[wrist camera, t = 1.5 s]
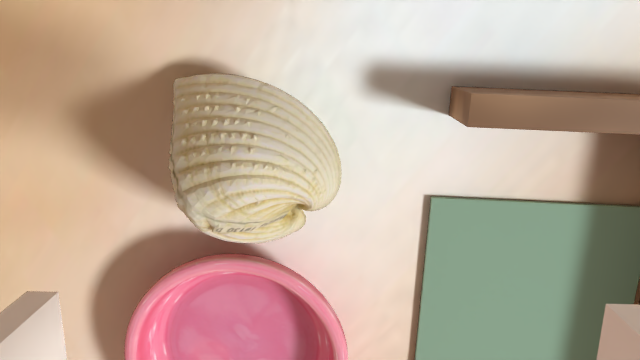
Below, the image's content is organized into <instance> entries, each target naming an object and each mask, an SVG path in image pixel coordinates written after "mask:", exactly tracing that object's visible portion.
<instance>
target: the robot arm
mask: <svg viewBox="0 0 640 360" xmlns="http://www.w3.org/2000/svg"><path fill="white" fill-rule="evenodd" d="M0 360H67V355H66V347H65V340H64V332H63V324H62V317H61V309H60V302H59V294H58V292H35V291H27V292H26V293H24V294H23V295H22V296H21V297H19V298H18V299H17V300H16V301H14V302H13V303H12V304H10V305H9V306H8V307H7V308H5V309H4V310H3V311H2V312H0ZM597 360H640V305H639V304H606V306H605V312H604V318H603V324H602V330H601V336H600V342H599V348H598V354H597Z"/></svg>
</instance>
